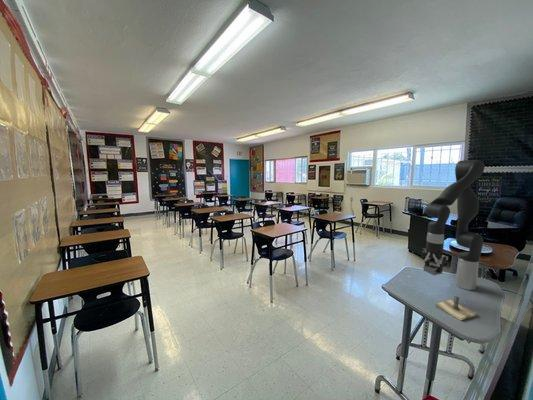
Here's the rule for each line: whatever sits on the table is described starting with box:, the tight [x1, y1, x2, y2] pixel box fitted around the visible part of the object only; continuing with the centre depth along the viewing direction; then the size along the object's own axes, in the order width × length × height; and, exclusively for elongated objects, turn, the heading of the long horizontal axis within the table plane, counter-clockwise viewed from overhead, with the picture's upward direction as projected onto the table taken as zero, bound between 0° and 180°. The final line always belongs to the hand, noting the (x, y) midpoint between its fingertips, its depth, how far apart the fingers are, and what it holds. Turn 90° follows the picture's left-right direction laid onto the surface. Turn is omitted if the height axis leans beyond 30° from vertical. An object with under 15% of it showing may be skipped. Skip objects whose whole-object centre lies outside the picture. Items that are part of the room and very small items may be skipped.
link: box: [423, 263, 444, 276], centre depth 125 cm, size 6×6×3 cm
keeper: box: [435, 295, 478, 321], centre depth 114 cm, size 11×12×7 cm
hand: (432, 270), depth 125 cm, fingers closed on link, 6 cm apart
